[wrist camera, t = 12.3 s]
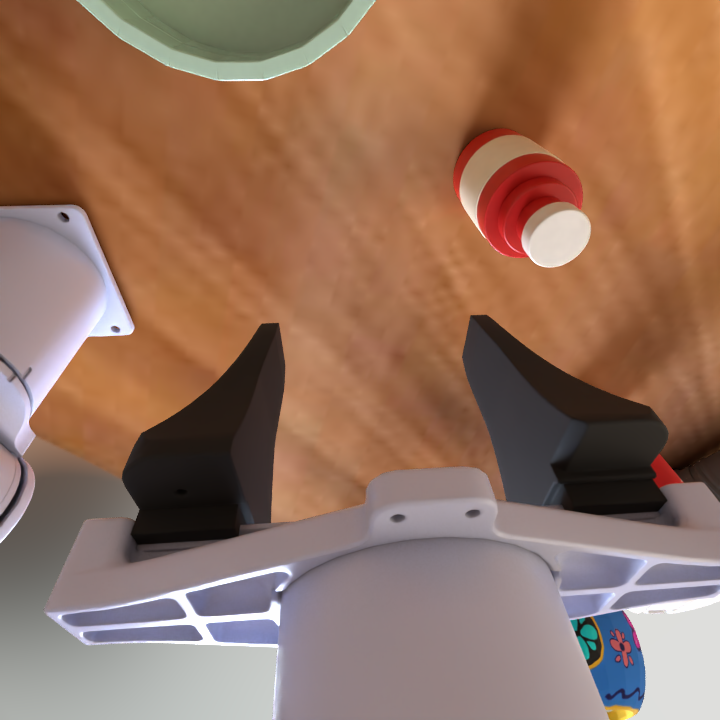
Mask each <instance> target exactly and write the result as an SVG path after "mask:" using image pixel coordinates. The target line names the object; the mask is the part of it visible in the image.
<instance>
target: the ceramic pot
mask: <svg viewBox="0 0 720 720" xmlns="http://www.w3.org/2000/svg"><path fill="white" fill-rule="evenodd" d="M570 621H571V624H572V626H573V629H574V631H575V634H576V637H577V639H578V642H579V644H580V647H581V649H582V652H583V654H584V657H585V659H586V662H587V664H588V667H589V669H590V672H591V674H592V677H593V679H594V682H595V684H596V687H597V689H598V692H599V694H600V697H601V699H602V702H603V704H604V707H605V709H606V712H607V714H608V717H609V720H625V719H628V718H630V717H632V716H634V715H635V714H637V713H638V712H639V710H640V708H641V705H642V702H643V699H644V692H645V666H644V660H643V655H642V652H641V648H640V644H639V641H638V638H637V635H636V632H635V630H634V627H633V625H632V624H631V622H630V620H629V618H628V617H627V615H626V614H625V613H624V611H623V610H622V611H617V612H611V613H606V614H601V615H596V616H590V617H585V618H580V619H575V620H570Z"/></svg>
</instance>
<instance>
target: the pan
mask: <svg viewBox="0 0 720 720" xmlns="http://www.w3.org/2000/svg"><path fill="white" fill-rule="evenodd" d="M77 1H78V2H79V3H80V4H81V5H82V6H84V7H85V8H86V9H87V10H88V11H89V12H90V13H91V14H92V15H94V16H95V17H96V18H97V19H98V20H99V21H100V22H101V23H103V24H104V25H105V26H106V27H107V28H108V29H109V30H110V31H111V32H113V33H114V34H115V35H116V36H118V37H119V38H120V39H121V40H123V41H125V42H127V43H128V44H130V45H132V46H134V47H135V48H137V49H139V50H140V51H142V52H144V53H146V54H147V55H149V56H151V57H152V58H154V59H156V60H158V61H159V62H161V63H163V64H165V65H166V66H170V67H171V68H175V69H178V70H181V71H185V72H188V73H192V74H195V75H199V76H202V77H206V78H209V79H213V80H219V81H263V80H268V79H271V78H274V77H277V76H280V75H283V74H286V73H289V72H292V71H295V70H297V69H300V68H303V67H306V66H308V64H309V65H310V64H312V63H313V62H314V61H316V60H317V59H318V58H320V57H321V56H322V55H324V54H325V53H326V52H328V51H329V50H330V49H332V48H333V47H334V46H336V45H337V44H339V43H340V42H341V41H343V40H344V39H345V38H347V36H348V35H349V34H351V32H352V31H353V30H354V28H355V27H356V26H357V24H358V23H359V22H360V21H361V19H362V18H363V17H364V15H365V14H366V13H367V12H368V10H369V9H370V8H371V6H372V5H373V4H374V3H375V1H376V0H77Z"/></svg>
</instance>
